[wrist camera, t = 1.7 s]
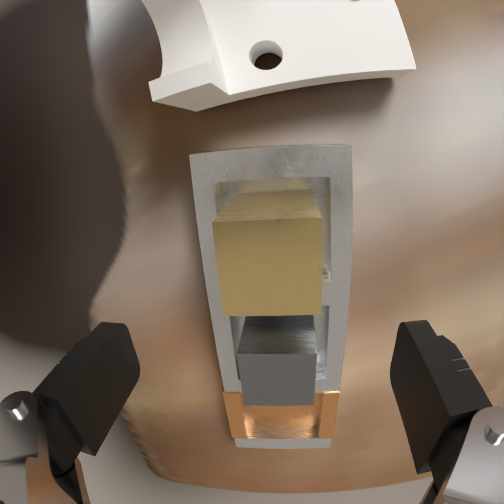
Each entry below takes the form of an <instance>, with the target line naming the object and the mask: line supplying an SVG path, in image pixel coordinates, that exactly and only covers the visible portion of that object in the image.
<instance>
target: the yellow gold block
mask: <svg viewBox="0 0 504 504" xmlns="http://www.w3.org/2000/svg"><path fill="white" fill-rule="evenodd" d="M212 230H213V238H214V246H215V254H216V262H217V270H218V277H219V285H220V292H221V299H222V306H223V313H224V316H288V315H320V314H321V310H322V216H321V213H320V211H319V209H318V206H317V204H316V201H315V199H314V196H313V194H312V192H311V191H284V192H263V193H246V194H236V195H235V196H234V198H233V199H232V200H231V201H230V202H229V203H228V204H227V205H226V207H225V208H224V209H223V210H222V211H221V212H220V213H219V215H218V216H217V217H216V218H215V219H214V220H213V221H212Z"/></svg>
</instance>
